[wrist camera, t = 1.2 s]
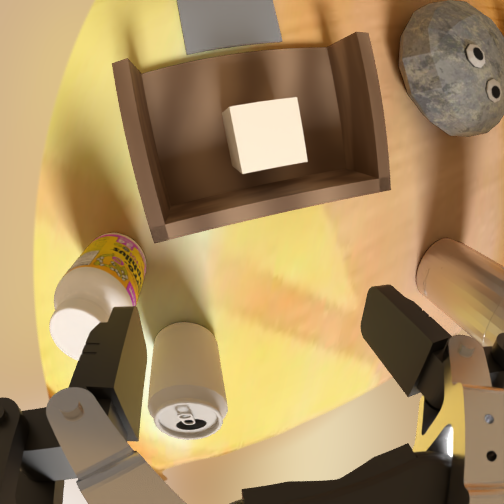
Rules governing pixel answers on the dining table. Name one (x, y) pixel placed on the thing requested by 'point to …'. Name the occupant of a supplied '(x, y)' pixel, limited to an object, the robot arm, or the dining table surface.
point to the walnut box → (215, 141)
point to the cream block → (265, 134)
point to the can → (186, 382)
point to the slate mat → (227, 23)
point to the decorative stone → (454, 67)
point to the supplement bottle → (96, 289)
